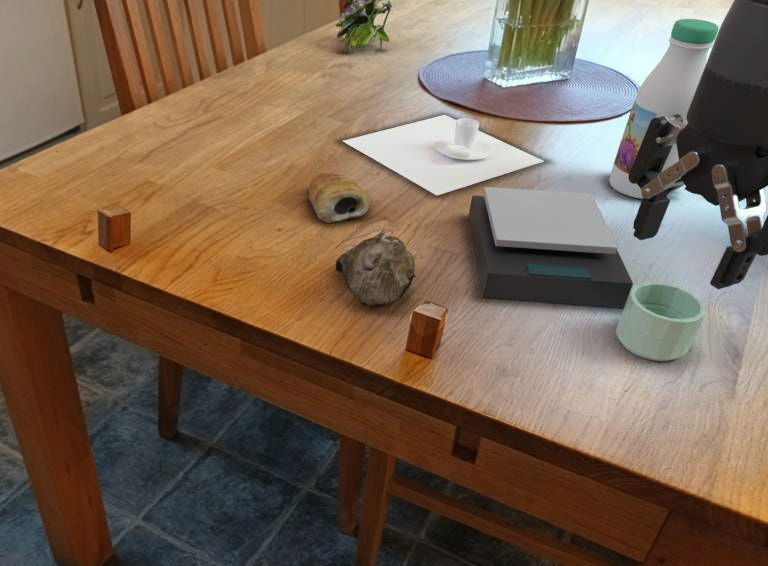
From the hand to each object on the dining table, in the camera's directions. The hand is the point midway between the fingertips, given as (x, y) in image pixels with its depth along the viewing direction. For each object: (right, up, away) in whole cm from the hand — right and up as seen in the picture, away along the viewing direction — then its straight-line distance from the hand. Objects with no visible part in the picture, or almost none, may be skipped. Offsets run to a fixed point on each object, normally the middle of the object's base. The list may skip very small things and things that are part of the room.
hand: (680, 260), depth 62 cm
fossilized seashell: (-25, -1, +12) cm, 28 cm away
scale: (-6, +2, +17) cm, 18 cm away
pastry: (-28, +10, +25) cm, 39 cm away
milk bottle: (+12, +14, +31) cm, 36 cm away
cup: (0, -7, +5) cm, 9 cm away
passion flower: (-19, +52, +77) cm, 95 cm away
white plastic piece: (-12, +21, +39) cm, 46 cm away
